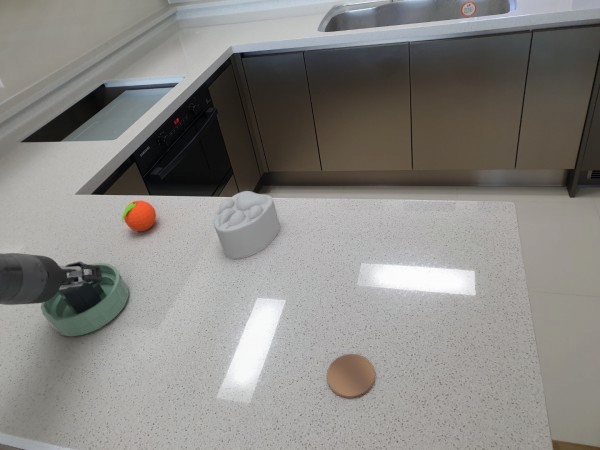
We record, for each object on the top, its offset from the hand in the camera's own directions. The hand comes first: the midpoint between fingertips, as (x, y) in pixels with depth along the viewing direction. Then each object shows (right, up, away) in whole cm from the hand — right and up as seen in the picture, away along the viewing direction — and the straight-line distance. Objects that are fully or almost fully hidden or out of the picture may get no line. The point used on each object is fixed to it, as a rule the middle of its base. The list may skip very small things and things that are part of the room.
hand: (81, 280), depth 85 cm
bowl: (+1, -5, +2) cm, 6 cm away
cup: (+1, -5, +2) cm, 5 cm away
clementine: (+5, +9, +20) cm, 23 cm away
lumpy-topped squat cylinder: (+30, +7, +10) cm, 33 cm away
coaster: (+48, -11, -20) cm, 53 cm away
